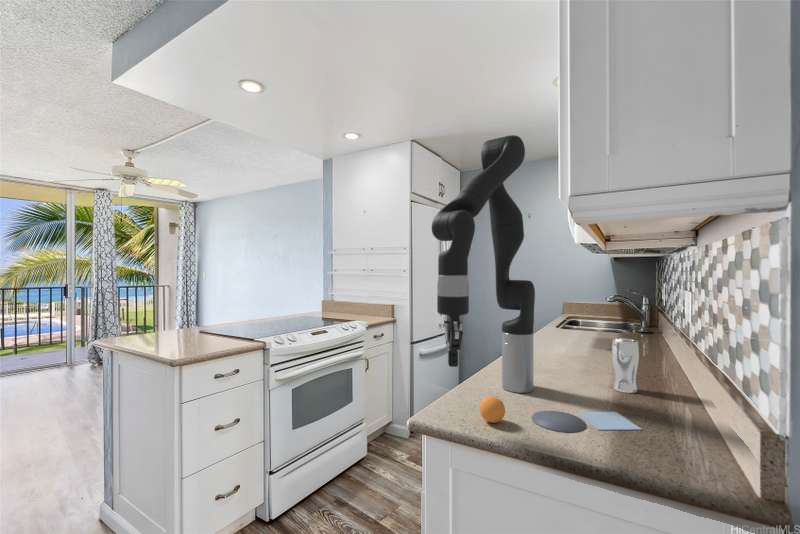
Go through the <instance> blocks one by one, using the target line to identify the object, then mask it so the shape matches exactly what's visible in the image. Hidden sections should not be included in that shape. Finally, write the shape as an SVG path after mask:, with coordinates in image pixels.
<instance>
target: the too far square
mask: <svg viewBox="0 0 800 534" xmlns="http://www.w3.org/2000/svg"><path fill="white" fill-rule="evenodd" d="M576 414H578V415H579V416H580V417H581V418H583V419H584V421H585V420H586V422H588V423H589V424H590V425H591V426H592V427H594V428H595V429H596V430H597V431H642V428H641V427H640V426H638V425H637V424H635V423H633V422H632V421H631V420H629V419H628V418H626V417H625V416H623V415H621V414H620V413H618V412H617V411H577V412H576Z"/></svg>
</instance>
